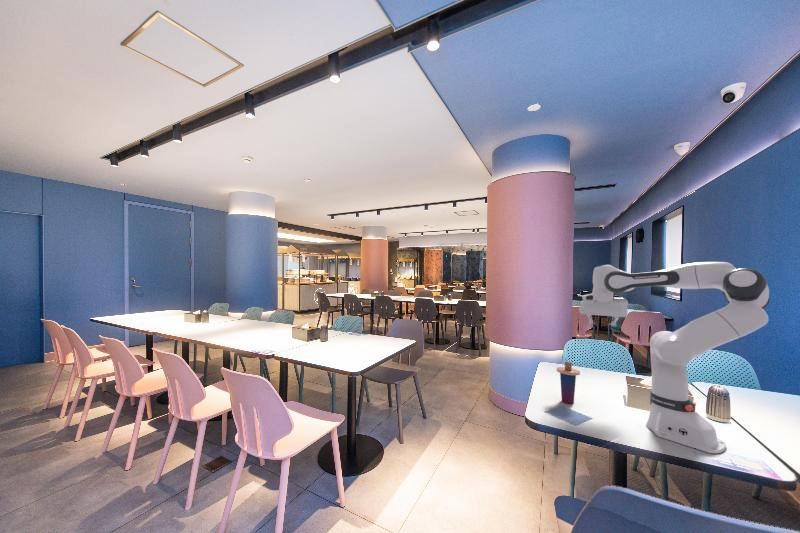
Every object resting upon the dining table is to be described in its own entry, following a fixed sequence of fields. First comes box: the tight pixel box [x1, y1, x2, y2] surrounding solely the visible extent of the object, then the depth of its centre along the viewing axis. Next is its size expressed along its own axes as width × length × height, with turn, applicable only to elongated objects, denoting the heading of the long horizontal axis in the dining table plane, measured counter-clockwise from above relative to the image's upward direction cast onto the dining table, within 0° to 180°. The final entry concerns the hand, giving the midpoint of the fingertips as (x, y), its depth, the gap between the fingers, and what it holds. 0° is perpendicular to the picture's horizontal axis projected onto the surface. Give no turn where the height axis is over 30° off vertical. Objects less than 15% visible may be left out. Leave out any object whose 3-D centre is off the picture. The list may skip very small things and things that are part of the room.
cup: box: [559, 373, 577, 405], centre depth 147 cm, size 7×7×15 cm
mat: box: [544, 405, 594, 427], centre depth 133 cm, size 14×13×1 cm
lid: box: [556, 360, 581, 376], centre depth 147 cm, size 10×10×5 cm
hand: (602, 324), depth 153 cm, fingers open, 8 cm apart
